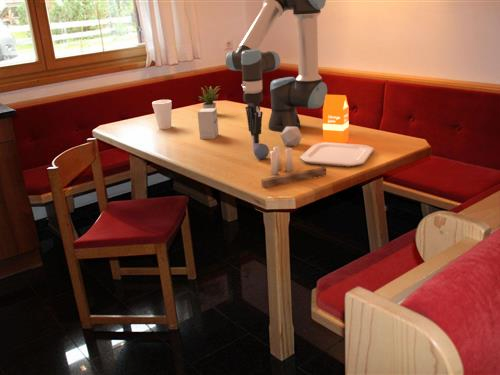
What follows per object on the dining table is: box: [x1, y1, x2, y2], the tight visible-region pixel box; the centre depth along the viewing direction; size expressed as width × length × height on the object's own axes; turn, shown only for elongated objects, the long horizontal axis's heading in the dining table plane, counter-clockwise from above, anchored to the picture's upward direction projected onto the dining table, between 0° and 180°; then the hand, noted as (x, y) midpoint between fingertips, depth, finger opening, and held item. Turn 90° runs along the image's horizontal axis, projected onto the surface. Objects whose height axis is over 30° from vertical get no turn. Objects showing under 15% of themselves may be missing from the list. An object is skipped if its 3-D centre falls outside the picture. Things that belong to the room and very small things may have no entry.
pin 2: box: [285, 147, 294, 173], centre depth 190 cm, size 2×2×8 cm
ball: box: [253, 143, 270, 160], centre depth 206 cm, size 6×6×6 cm
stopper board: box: [260, 166, 327, 188], centre depth 182 cm, size 24×2×2 cm, turn 112°
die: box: [280, 127, 303, 147], centre depth 221 cm, size 8×9×10 cm
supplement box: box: [197, 107, 219, 140], centre depth 240 cm, size 7×7×13 cm
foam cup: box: [151, 99, 173, 130], centre depth 262 cm, size 10×9×13 cm
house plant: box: [198, 85, 221, 109], centre depth 280 cm, size 14×14×16 cm
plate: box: [299, 142, 375, 168], centre depth 204 cm, size 25×25×2 cm
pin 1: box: [269, 150, 279, 176], centre depth 188 cm, size 2×2×8 cm
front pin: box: [273, 145, 282, 171], centre depth 193 cm, size 2×2×8 cm
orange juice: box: [322, 94, 350, 144], centre depth 219 cm, size 8×9×20 cm
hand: (255, 150), depth 210 cm, fingers closed
